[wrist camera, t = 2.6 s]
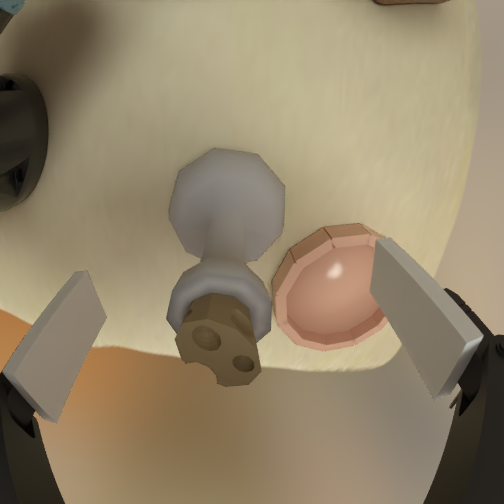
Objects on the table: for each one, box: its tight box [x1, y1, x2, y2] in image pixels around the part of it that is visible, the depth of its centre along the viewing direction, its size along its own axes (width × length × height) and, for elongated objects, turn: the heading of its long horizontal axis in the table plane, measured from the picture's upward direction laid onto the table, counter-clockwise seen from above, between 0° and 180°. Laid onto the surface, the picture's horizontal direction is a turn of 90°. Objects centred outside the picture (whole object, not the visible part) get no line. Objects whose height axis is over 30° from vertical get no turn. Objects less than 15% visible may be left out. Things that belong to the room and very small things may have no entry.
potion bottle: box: [166, 148, 285, 387], centre depth 15 cm, size 9×9×18 cm
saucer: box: [272, 224, 388, 351], centre depth 27 cm, size 14×14×2 cm
